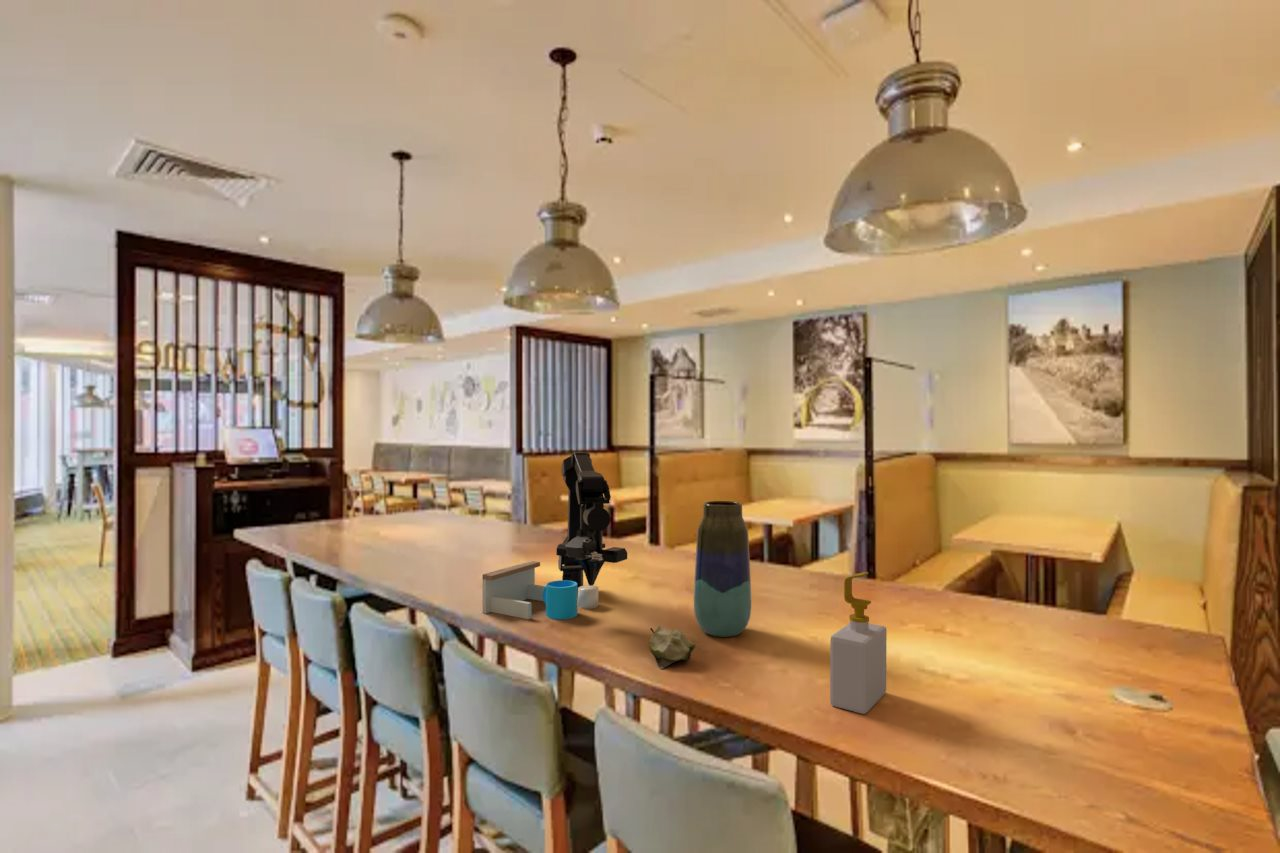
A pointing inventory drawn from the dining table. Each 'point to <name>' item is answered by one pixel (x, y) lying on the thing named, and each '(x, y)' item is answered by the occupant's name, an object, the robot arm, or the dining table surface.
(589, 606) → the cream rounded cylinder
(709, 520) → the vase
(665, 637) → the fruit
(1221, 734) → the dining table surface
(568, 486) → the robot arm
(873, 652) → the soap bottle
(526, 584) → the counter bay
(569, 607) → the mug
